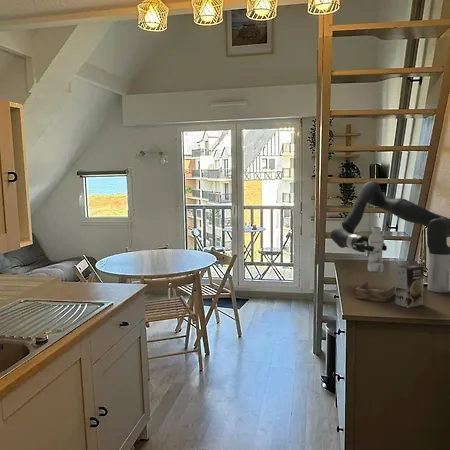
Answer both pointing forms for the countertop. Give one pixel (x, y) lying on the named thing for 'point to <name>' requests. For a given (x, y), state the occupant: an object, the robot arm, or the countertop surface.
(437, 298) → the countertop surface
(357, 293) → the walnut bay
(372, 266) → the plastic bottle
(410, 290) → the coffee box
